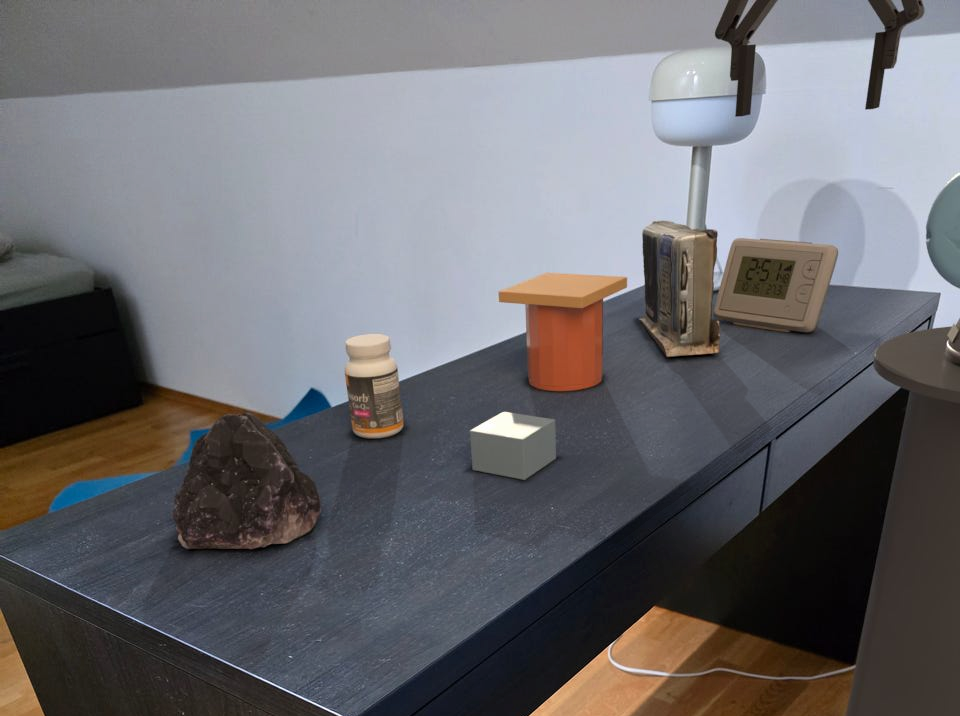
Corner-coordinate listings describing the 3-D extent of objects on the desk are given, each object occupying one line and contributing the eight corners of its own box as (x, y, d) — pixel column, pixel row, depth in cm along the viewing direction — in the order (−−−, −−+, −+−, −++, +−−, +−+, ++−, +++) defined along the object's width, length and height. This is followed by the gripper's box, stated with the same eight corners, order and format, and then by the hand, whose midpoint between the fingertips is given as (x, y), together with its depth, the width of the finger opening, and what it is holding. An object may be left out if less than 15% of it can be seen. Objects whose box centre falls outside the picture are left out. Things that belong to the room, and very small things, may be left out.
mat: (627, 287, 104) (627, 276, 103) (582, 308, 96) (582, 297, 96) (546, 282, 109) (546, 272, 109) (498, 302, 102) (498, 291, 101)
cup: (614, 373, 109) (616, 288, 104) (579, 395, 103) (579, 306, 98) (552, 366, 114) (550, 284, 108) (515, 386, 108) (511, 300, 102)
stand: (556, 458, 87) (555, 419, 85) (524, 480, 83) (522, 439, 81) (505, 449, 90) (503, 411, 88) (472, 470, 86) (469, 430, 84)
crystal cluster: (255, 580, 71) (243, 462, 66) (134, 539, 76) (115, 427, 71) (353, 525, 81) (350, 419, 76) (241, 492, 86) (231, 391, 81)
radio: (638, 318, 132) (641, 208, 124) (697, 315, 131) (704, 204, 123) (650, 362, 112) (654, 235, 104) (719, 359, 111) (729, 230, 103)
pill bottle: (342, 433, 97) (328, 342, 92) (382, 419, 100) (371, 329, 95) (375, 444, 94) (361, 349, 88) (415, 428, 97) (405, 336, 92)
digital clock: (706, 320, 128) (711, 241, 122) (751, 309, 131) (758, 232, 126) (792, 340, 116) (803, 254, 110) (839, 328, 119) (852, 243, 114)
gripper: (691, -130, 86) (681, 120, 98) (973, -187, 74) (924, 107, 85) (719, -121, 91) (706, 115, 103) (987, -174, 79) (939, 102, 90)
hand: (805, 112), depth 94 cm, fingers open, 13 cm apart
